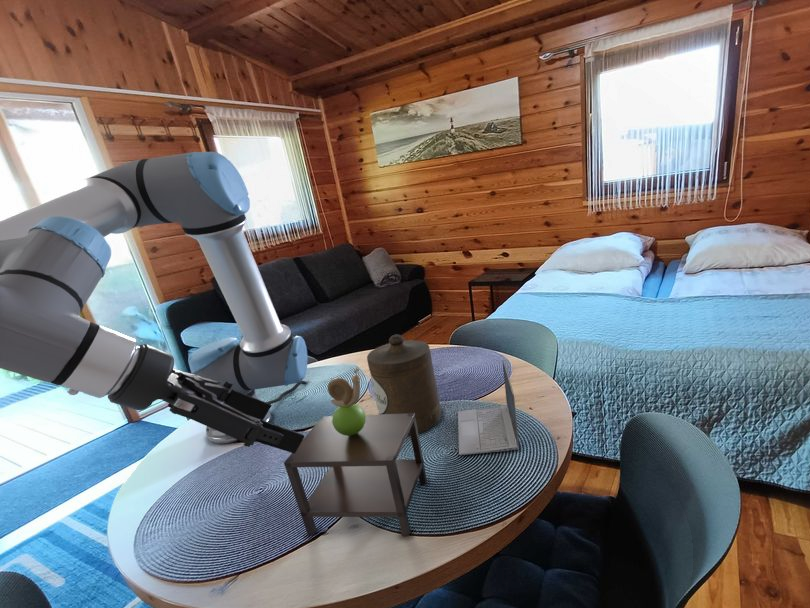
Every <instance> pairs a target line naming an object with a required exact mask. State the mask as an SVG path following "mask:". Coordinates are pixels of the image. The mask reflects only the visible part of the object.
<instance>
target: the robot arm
mask: <svg viewBox="0 0 810 608" xmlns="http://www.w3.org/2000/svg"><path fill="white" fill-rule="evenodd" d="M250 206H251V200H250V198H249V192H248V188H247V186H246V183H245V181H244V179H243V177H242V175H241V173H240V172H239V170H238V169H237V168H236V166H235V165H234V163H232V161H230V160H229V159H228V158H227V157H226V156H224V155H223V154H221V153H219V152H216V151H190V152H184V153H178V154H171V155H165V156H158V157H157V156H156V157H151V158H150V157H149V158H139V159H135V160H130V161H128V162H124V163H121V164H119V165H116V166H114V167H112V168H109V169H107V170H104V171H102V172H100V173H97V174H95V175H92V176H90V177H87V178H85V179H83V180H80V181H78V183H77V184H76V185H75V186H74V188H73V191H71V192H68V193H67V194H64V195H61V196H58V197H56V198H53V199H51V200H48V201H46V202H43V203H40V204H38V205H35V206H32V207H30V208H27V209H24V210H23V211H20V212H18V213H15V214H12V215H9V216H7V217H5V218H1V219H0V369H2V370H4V371H8V372H11V373H15V374H18V375H22V376H25V377H28V378H32V379H35V380H38V381H42V382H44V383H48V384H52V385H55V386H60V387H62V388H65V389H67V391H66V393H68V394H69V395H70V396H75V395H78V394H79V392H80V393H83V394H85V395H88V396H92V397H95V398H97V399H101V398H105V397H106V396H107V399H108V400H109V402H110V403H112V404H116V405H118V406H122V407H125V408H128V409H132V410H135V411H144V410H146V409H148V408H149V407H151V406H152V404H153V403H154V402H155V401H158V400H160V401H163V402H165V403H167V407H168V408H169V409H168V410H169V412H171V413H172V414H173V415H178V416H181V417H183V418H186V419H190V420H192V421H194V422H197V423H199V424H200V425H203V426H205V432H206V436H207V439H208V441H210V443H212V444H218V445H219V444H220V445H223V444H232V443H236V442H239V441H240V442H242V443H243V446H245V447H251V446H253V445H254V444H255V443H260V444H263V445H265V446H269V447H271V448H275V449H278V450H282V451H285V452H287V453H290V454H291V453H294V454H295V453H296V451H297V449H298V447H299V446H300V444H301V442H302V440H303V439H304V438H305V437H306V436H305V435H304V434H303V433H301V432H298V431H296V430H292V429H290V428H286V427H284V426H281V425H278V424H275V423H274V422H273V423H272V420H273V417H272V414H271V411H270V409H271V408H272V406H273V404H275V403H279V402H280V401H281V400H282V399H283V398H284V397H285V396H287V395H289V394H291V393H293V392H294V391H295V390H297V388H298V387H300V386H301V385H306V384H308V381H305V380H304V379H305V377H306V375H307V371H308V349H307V344H306V341H305V339H304V338H303V337H302V336H301V335H295V336H293V334H292V331H291V328H290V327H289V326H288V325H285V324H282V323H281V321H280V319H279V316H278V313H277V311H276V309H275V307H274V304H273V301H272V298H271V296H270V294H269V292H268V289H267V287H266V284H265V282H264V279H263V277H262V274H261V272H260V270H259V267H258V265H257V262H256V260H255V258H254V256H253V253H252V250H251V247H250V244H249V242H248V240H247V237H246V235H245V233H244V230H243V227H244V226H245V224H246V222H247V217H246V213H248V212H249V210H250V209H251V207H250ZM173 223H179V224H180V226H181V229H182V231H183V233H184V235H185V236H188V237H190V238H192V239H194V240H196V241H197V242H198V244H199V247H200V249H201V251H202V253H203V255H204V258H205V259H206V262H207V263H208V265H209V268H210V269H211V272H212V275H213V276H214V278H215V280H216V282H217V285H218V287H219V289H220V291H221V293H222V295H223V297H224V299H225V301H226V304H227V306H228V307H229V311H230V312H231V314H232V316H233V318H234V320H235V322H236V325H237V326H238V329H239V330H240V333H241V335H242V338H241V340H240V341H239V339H238V338H237V337H226V338H223V339H219V340H216V341H213V342H209V343H208V344H206V345H203V346H201V347H199V348H198V349H195V350H194V351H193V352H191V353H190V354H189V356H188V359H187V362H188V366H189V369H190V372H187V371H184V370H179V369H177V368H174V366H175V358H174V356H173V354H171V353H168V352H166V351H164V350H161V349H159V348H156V347H154V346H152V345H149V344H146V343H144V344H139V345H138V342H137V340H136V339H135V338H133V337H131V336H129V335H125V334H123V333H120V332H119V331H116V330H113V329H111V328H108V327H105V326H103V325H100V324H97V323H95V322H92V321H90V320H88V319H86V318H83V317H81V316H80V315H81V313H82V311H83V309H84V307H85V306H86V304H87V303H88V300H90V297H91V296H92V294H93V292H95V291H94V290H95V289H96V287H97V286H98V284H99V282H100V281H101V279H103V278H104V276H105V275H106V269H107V267H108V265H109V262H110V260H111V257H112V249H111V245H110V244H109V241H108V240H107V239H106V238H105V237H107V236H108V235H110V234H114V235H117V234H123V233H127V232H129V231H130V230H132V229H135V228H139V227H140V228H141V227H146V226H153V225H163V224H173ZM289 385H293V386H292V387H291V388H289V389H287V390H285V391H284V392H282V393H281V394H280V395H279V396H278V397H276V398H274V399H271V400H268V401H263V400H261V398H260V397H259V396H258V395H257V393H256V390H260V389H261V390H262V389H268V388H275V387H280V386H281V387H282V386H285V387H288V386H289Z"/></svg>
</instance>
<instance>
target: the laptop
mask: <svg viewBox="0 0 810 608" xmlns="http://www.w3.org/2000/svg"><path fill="white" fill-rule="evenodd" d="M502 368H503V379H504V389H505V399H506V401H505V402H506V405H497V406H488V407H480V408H473V409H465V410H458V411H457V426H458V428H457V433H458V434H457V435H458V455H459V456H467V455H476V454H486V453H499V452H508V451H514V450H515V451H516V450H519V447H520V445H519V433H518V422H517V411H516V400H515V393H514V389H513V387H512V383H511V379H510V376H509V373H508V370H507V366H506V363H505V360H504V359H502Z"/></svg>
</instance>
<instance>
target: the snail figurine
mask: <svg viewBox="0 0 810 608" xmlns="http://www.w3.org/2000/svg"><path fill="white" fill-rule="evenodd" d="M359 371H360V369H359V367H356V368H355V369H354V370H353V373H354V375H353V376H352V377H351V382H352V384H351V383H350V382H349V381H348V380H347V379H344V378H341V377H336V378H333V379H331V380H330V381H329V382H328V384H327V392H328V394H329V396H330V397H331V398H332V399H330V403H332V405H334V406H336V407H337V408H335V410H334V412H333V414H332V416H333V418H332V422H333V426H334V428H335V429H336V431H337V432H339V433H340V434H342V435H346V436H350V435H354V434H357V433H358V432H360V431H361V430H362V428H363V427H364V425H365V421H366V417H365V415H366V413H365V411H364V409H363V407H361V406H360V405H358V404H356V403H358V401H359V399H360V396H361V376H360V374H359Z"/></svg>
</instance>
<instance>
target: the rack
mask: <svg viewBox="0 0 810 608" xmlns="http://www.w3.org/2000/svg"><path fill="white" fill-rule="evenodd" d="M365 417H366V421H365V425H364V427H363V428H362V430H361V431H360V432H358V433H357V434H354V435H350V436H346V435H342V434H340V433H339V432H337V431H336V429H335V428H334V426H333V422H332V418H333V415H330V416H322V417H320V418H319V420H318V421H317V422H316V423H315V425H314V426H313V427H312V428H311V430H309V432H308V433H307V434H306V436H305V437H304V439H303V440H302V442H301V444H300V446H299V447H298V449H297V451H296V453H295V454H294V453H291V452H290V455H289V456H288V457H287V458H286V459H285V460H284V461H283V465H284V468H285V471H286V474H287V477H288V480H289V483H290V486H291V489H292V493H293V495H294V498H295V501H296V504H297V507H298V510H299V513H300V516H301V519H302V522H303V525H304V528H305V531H306V535H307V536H315V534H316V533H317V531H318V529H317V525H316V522H315V519H314V518H397V520H398V524H399V528H400V533H401V536H402V537H410V534H411V526H410V522H409V516H408V509H409V506H410V504H411V501H412V498H413V495H414V493H415V489H416V487H417V485H418V481H419V485H426V484H427V483H428V477H427V472H426V467H425V461H424V456H423V451H422V446H421V439H420V435H419V433H418V429H417V424H416V418H415V413H405V414H379V413H378V414H365ZM409 431H410V435H408V433H409ZM408 436H410V440H411V445H412V446H411V447H412V450H413V456H414V458H411V459H408V458H406V459H402V458H401V459H398V457H399V455H400V452H401V450H402V448H403V446H404V443H405V441H406V439H407V437H408ZM298 468H328V470H327V472H326V473H325V474H324V476H323V477H322V479H321V481H319V483H318V485H317V487H316V488H315V489H314V491H313V493H312V494H311V495H310V497H309V498H308V497H307V494H306V490H305V488H304V485H303V482H302V477H301V474H300V471H299V469H298Z"/></svg>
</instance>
